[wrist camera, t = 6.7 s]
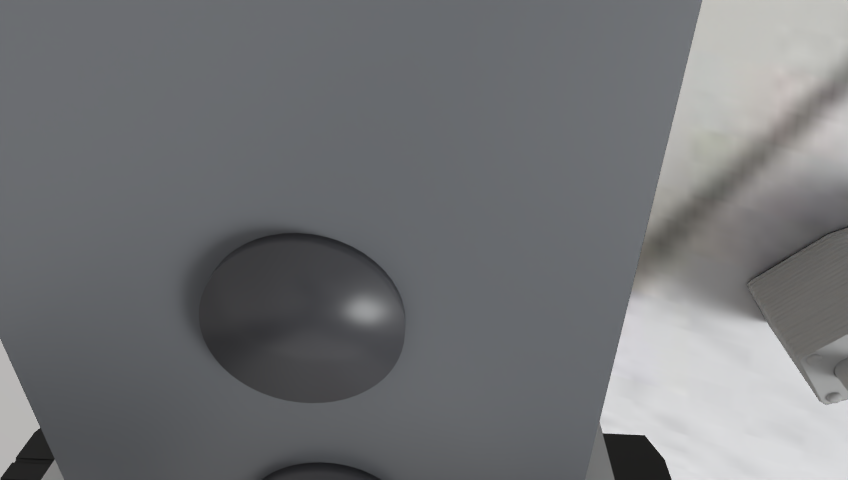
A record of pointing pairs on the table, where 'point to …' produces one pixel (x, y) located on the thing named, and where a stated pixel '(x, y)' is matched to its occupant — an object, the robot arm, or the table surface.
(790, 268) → the padlock
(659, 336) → the table surface
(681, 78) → the power strip
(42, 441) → the robot arm
